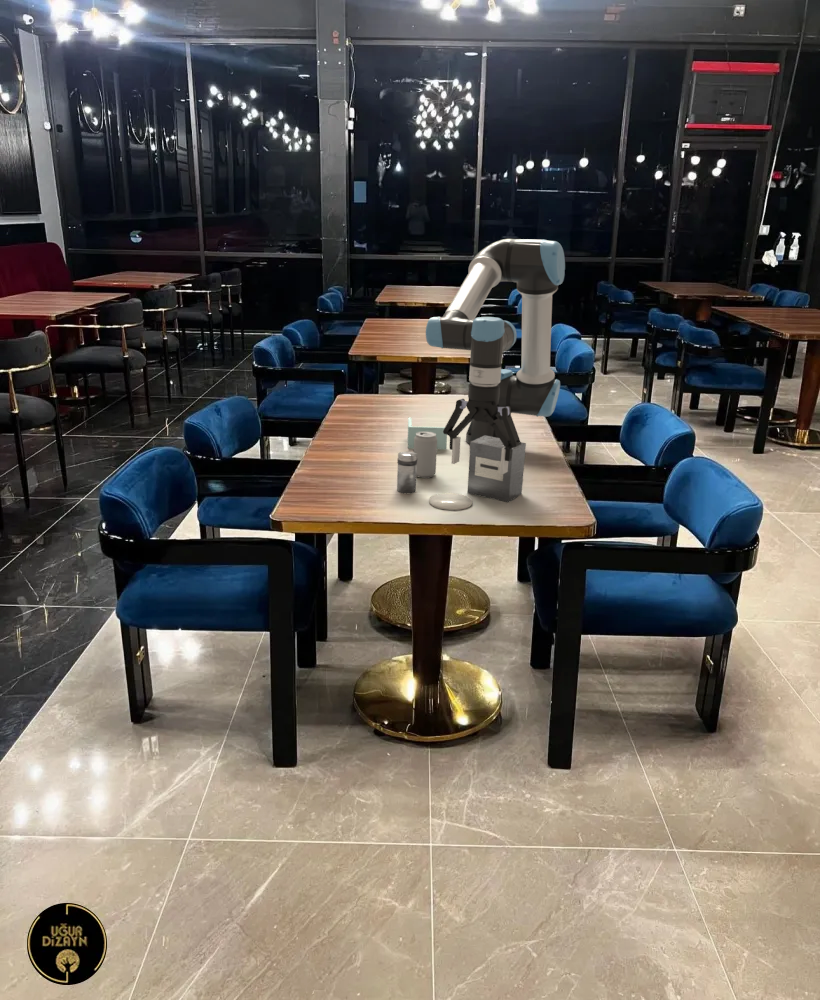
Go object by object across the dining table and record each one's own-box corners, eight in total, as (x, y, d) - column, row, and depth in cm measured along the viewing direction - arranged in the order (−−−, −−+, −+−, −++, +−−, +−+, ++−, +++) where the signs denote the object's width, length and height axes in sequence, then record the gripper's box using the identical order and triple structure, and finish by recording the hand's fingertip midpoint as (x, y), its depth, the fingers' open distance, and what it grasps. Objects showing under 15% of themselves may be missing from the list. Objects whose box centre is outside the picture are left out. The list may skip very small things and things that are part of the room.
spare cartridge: (403, 485, 210) (404, 450, 206) (419, 489, 207) (421, 453, 204) (392, 491, 206) (393, 454, 202) (409, 495, 203) (410, 458, 200)
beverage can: (422, 470, 223) (423, 429, 219) (440, 475, 219) (442, 433, 215) (408, 475, 219) (409, 433, 214) (426, 480, 215) (427, 438, 211)
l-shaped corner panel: (446, 451, 244) (447, 427, 241) (407, 450, 244) (408, 427, 241) (444, 440, 255) (445, 418, 253) (407, 439, 255) (408, 417, 252)
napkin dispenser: (481, 485, 212) (484, 435, 207) (521, 494, 206) (525, 443, 201) (466, 493, 205) (469, 442, 201) (507, 503, 200) (511, 450, 195)
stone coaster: (442, 492, 206) (442, 490, 206) (479, 501, 200) (479, 498, 200) (420, 504, 197) (420, 501, 197) (458, 513, 192) (459, 511, 191)
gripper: (432, 379, 191) (428, 461, 198) (525, 393, 178) (518, 481, 186) (447, 374, 197) (443, 455, 204) (538, 388, 184) (531, 473, 192)
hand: (479, 467), depth 195 cm, fingers open, 13 cm apart
